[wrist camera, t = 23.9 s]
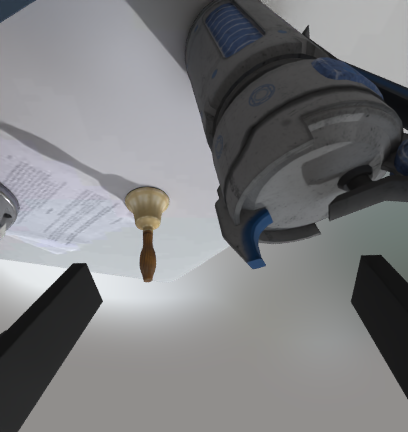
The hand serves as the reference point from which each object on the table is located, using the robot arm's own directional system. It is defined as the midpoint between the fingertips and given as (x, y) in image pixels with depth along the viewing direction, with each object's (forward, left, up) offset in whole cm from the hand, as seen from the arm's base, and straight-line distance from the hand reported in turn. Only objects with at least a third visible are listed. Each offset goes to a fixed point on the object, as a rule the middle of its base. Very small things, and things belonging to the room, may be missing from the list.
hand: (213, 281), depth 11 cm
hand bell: (-15, -19, -26) cm, 35 cm away
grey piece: (+7, -1, -26) cm, 27 cm away
